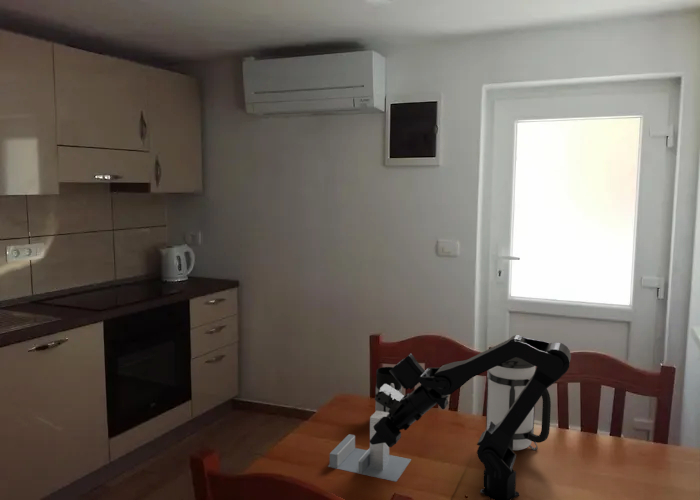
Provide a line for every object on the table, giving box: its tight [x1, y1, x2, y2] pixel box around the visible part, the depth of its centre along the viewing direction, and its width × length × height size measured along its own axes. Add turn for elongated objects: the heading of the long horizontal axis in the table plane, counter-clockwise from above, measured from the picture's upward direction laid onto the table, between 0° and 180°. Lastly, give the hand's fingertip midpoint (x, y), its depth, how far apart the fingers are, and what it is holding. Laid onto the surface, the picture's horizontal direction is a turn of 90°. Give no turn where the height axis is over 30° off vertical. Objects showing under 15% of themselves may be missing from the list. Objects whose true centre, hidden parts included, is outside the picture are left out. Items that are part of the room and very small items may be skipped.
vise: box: [327, 433, 412, 483], centre depth 145 cm, size 18×12×4 cm, turn 67°
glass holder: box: [374, 366, 403, 413], centre depth 171 cm, size 9×14×15 cm, turn 4°
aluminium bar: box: [369, 411, 390, 470], centre depth 143 cm, size 4×4×13 cm
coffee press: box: [485, 357, 552, 452], centre depth 154 cm, size 17×16×30 cm
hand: (374, 438), depth 144 cm, fingers open, 5 cm apart
